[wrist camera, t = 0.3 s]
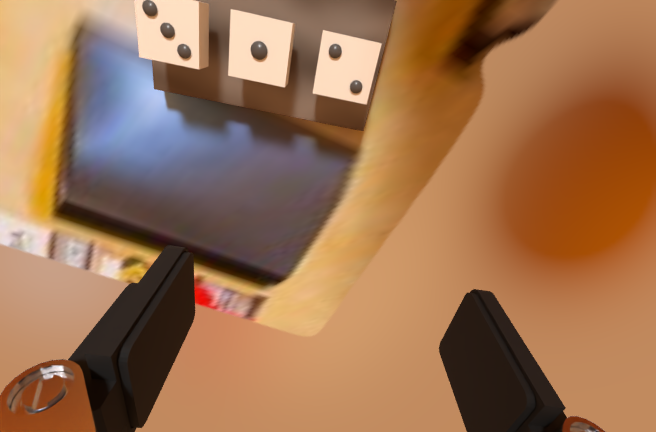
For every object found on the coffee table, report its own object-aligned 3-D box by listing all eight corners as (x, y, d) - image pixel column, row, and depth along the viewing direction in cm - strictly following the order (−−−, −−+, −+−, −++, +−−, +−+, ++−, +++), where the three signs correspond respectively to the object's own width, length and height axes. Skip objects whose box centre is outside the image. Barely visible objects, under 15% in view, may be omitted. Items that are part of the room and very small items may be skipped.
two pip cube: (323, 30, 29) (322, 30, 26) (377, 42, 29) (381, 43, 27) (313, 88, 31) (312, 93, 29) (364, 99, 31) (366, 105, 29)
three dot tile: (148, -10, 27) (132, -14, 25) (209, 3, 28) (198, 1, 25) (153, 54, 30) (138, 57, 27) (208, 66, 30) (198, 69, 28)
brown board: (154, -56, 29) (143, -61, 27) (392, 2, 31) (396, 0, 29) (162, 85, 35) (154, 88, 33) (361, 126, 37) (363, 131, 35)
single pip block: (238, 10, 28) (230, 9, 26) (295, 23, 28) (292, 23, 26) (235, 72, 30) (227, 75, 28) (288, 83, 31) (284, 87, 28)
